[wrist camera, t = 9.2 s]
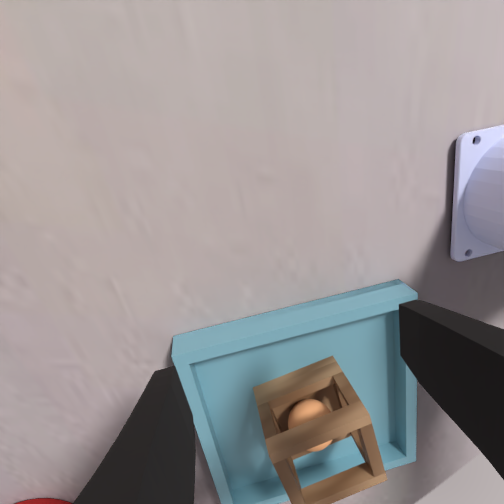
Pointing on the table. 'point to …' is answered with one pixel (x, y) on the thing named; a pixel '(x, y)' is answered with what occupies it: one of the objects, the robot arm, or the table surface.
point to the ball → (308, 416)
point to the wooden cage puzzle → (318, 431)
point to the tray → (288, 360)
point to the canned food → (44, 501)
